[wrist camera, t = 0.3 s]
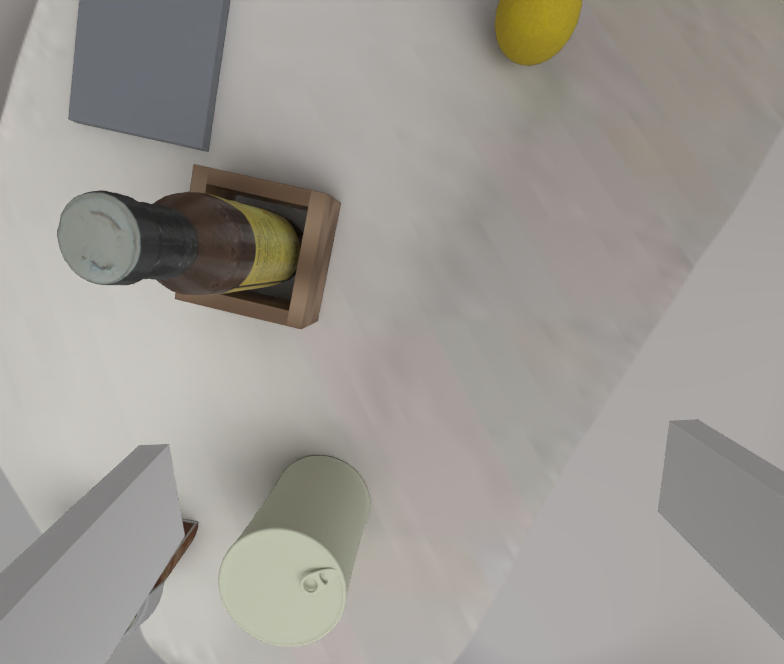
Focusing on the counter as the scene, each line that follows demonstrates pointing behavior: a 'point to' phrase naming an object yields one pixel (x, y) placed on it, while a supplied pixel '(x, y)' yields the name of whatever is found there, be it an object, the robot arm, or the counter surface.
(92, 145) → the counter surface
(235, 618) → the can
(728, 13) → the counter surface
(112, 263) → the sauce bottle
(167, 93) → the rubber mat
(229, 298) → the walnut sleeve
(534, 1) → the lemon
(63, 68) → the counter surface
